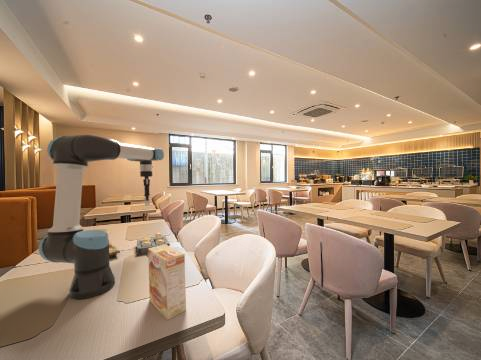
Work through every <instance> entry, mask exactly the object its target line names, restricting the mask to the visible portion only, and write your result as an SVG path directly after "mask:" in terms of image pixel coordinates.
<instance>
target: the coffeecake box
mask: <svg viewBox="0 0 481 360" xmlns="http://www.w3.org/2000/svg"><path fill="white" fill-rule="evenodd" d="M147 258H148V259H147V260H148V281H149V283H148V284H149V285H148V286H149V293H148V294H149V302H150V303H151V304H152V305H153V306H154V308H156V309H157V310H158V312H159V313H160V314H161V315H162V316H163V318H165V319H166V320H167V321H169V320H170V319H172V318H174V317H176V316H177V315H179V314H182V313H184V312H185V311H187V296H186V295H187V294H186V261H185V253H183V252H182V251H179V250H178V249H176V248H174V247H172V246H168V245H166V244H164V245H160V246H156V247H152V248H148V255H147Z"/></svg>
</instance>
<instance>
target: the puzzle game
mask: <svg viewBox="0 0 481 360" xmlns="http://www.w3.org/2000/svg"><path fill="white" fill-rule="evenodd" d="M118 254H121V250H120V249H119V248H118V247H116V246H115V245H114V244H113V243H112V242H109V258H111V257H115V256H117V255H118Z"/></svg>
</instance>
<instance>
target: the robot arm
mask: <svg viewBox="0 0 481 360" xmlns="http://www.w3.org/2000/svg"><path fill="white" fill-rule="evenodd" d="M46 152H47V155H48V157H50V160H52V161H53V162H52V165H53V167H55V168H56V169H57V173H56V182H55V183H56V184H55V198H54V199H55V200H54V208H53V209H54V210H53V222H52V223H53V224H52V227H50V228H49V229H48V230H47V234H46V236H44V237H43V239H42V240H41V241H40V242H39V245H38V252H39V255H40V257H41V258H42V259H44V260H45V261H47V262H51V263H57V264H58V263H64V264H73V266H74V275H73V278H72V281H71V284H70V287H69V298H71V299H73V300H84V299H89V298H93V297H96V296H100V295H102V294H103V293H106V292H107V291H109V290H111V289H112V288H113V287H114V286H115V283H116V277H115V274H114V273H113V270H112V269H111V265H110V257H109V243H110V239H109V234H108V233H107V232H106V231H105V230H102V229H85V230H84V227H83V226H82V225H81V224H80V220H81V219H80V218H81V205H82V190H83V175H84V171H85V170H87V169H88V165H89V163H90V162H92V163H93V162H97V161H99V162H100V161H109V160H110V161H113V160H116V159H126V160H127V161H129V162H139V170H140V171H139V174H140V177H141V178H143V177H144V178H143V179H142V181H143V186H144V195H143V197H144V206H146V207H147V206H150V196H151V194H150V186H151V185H150V184H151V183H150V182H151V180H150V179H149V177H151V178H152V177H153V168H154V166H153V162H154V161H162V160H164V157H165V153H164V150H163V149H162V148H159V147H155V148H154V147H147V146H143V145H142V146H141V145H136V144H130V143H123V142H119V141H117V140H116V139H114V138H113V139H112V138H108V137H104V136H98V135H94V134H79V135H78V134H77V135H61V136H57V137H55V138H53V139H52V140H50V141H49V143H48V145H47V148H46Z"/></svg>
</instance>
